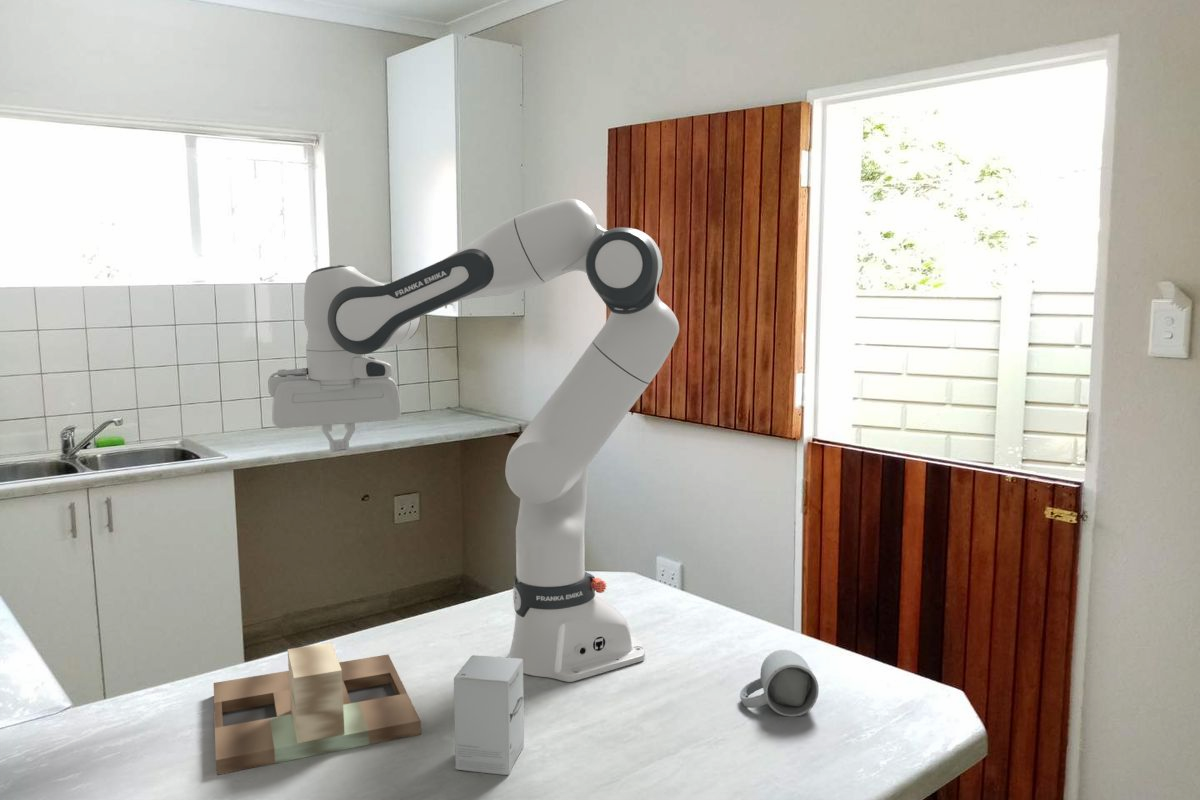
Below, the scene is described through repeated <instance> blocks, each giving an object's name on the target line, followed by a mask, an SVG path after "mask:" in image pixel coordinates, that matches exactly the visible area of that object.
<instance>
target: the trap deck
mask: <svg viewBox="0 0 1200 800" xmlns="http://www.w3.org/2000/svg"><path fill="white" fill-rule="evenodd" d="M339 664H340V667H341V670H342V688H343V711H344V735H339V736H333V737H328V738H323V739H318V740H313V741H307V742H302V743H297V739H296V734H295V729H294V724H293V719H292V714H291V704H290V685H289V670H284V671H279V672H274V673H273V672H272V673H267V674H260V675H254V676H248V677H242V678H236V679H230V680H223V681H218V682H213V706H214V708H213V709H214V710H213V712H214V740H215V741H214V742H215V743H214V744H215V746H214V748H215V766H216V767H215V769H216V770H215V771H216V775H217V776H218V774H219V775H223V774H222V773H224V774H227V773H226V772H229V773H233V771H234V772H238V771H243V770H248V769H252V768H253V769H254V768H258V767H264V766H267V765H268V766H269V765H274V764H278V763H283V762H288V761H293V760H298V759H299V760H300V759H304V758H308V757H314V756H319V755H323V754H328V753H333V752H338V751H344V750H348V749H355V748H359V747H362V746H368V745H369V746H370V745H373V744H377V743H378V744H379V743H383V742H388V741H389V742H390V741H393V740H399V739H403V738H404V739H405V738H409V737H413V736H414V737H415V736H420V735H421V734H422V729H421V728H422V722H421V719H420V717H419V714H418V712H417V711H416V708H415V706H414V704H413V701H412V700H411V698H410V696H409V694H408V692H407V690H406V687H405V685H404V684H403V681H402V680H401V677H400V676H399V673H398V671H397V669H396V667H395V665H394V662H393V661H392V659H391V657H390V655H389V654H382V655H376V656H370V657H365V658H358V659H353V660H346V661H340V662H339Z"/></svg>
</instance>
